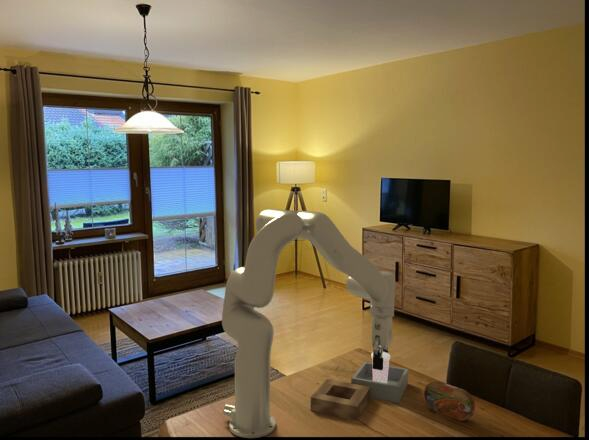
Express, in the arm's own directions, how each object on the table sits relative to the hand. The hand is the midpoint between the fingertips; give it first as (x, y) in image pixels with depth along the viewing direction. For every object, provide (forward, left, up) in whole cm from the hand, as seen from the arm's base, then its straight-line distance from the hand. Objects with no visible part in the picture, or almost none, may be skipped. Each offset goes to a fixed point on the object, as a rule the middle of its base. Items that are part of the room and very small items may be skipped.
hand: (380, 364), depth 152 cm
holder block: (-8, -16, -8) cm, 19 cm away
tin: (+22, -8, -8) cm, 25 cm away
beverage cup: (0, 0, -6) cm, 6 cm away
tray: (0, 0, -8) cm, 8 cm away
